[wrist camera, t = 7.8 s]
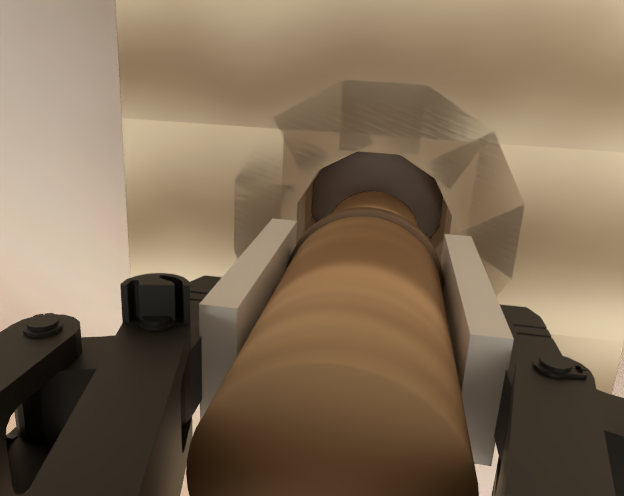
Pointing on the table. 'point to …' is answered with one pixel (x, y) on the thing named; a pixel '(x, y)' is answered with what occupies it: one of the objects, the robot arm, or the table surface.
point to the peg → (344, 373)
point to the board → (388, 135)
